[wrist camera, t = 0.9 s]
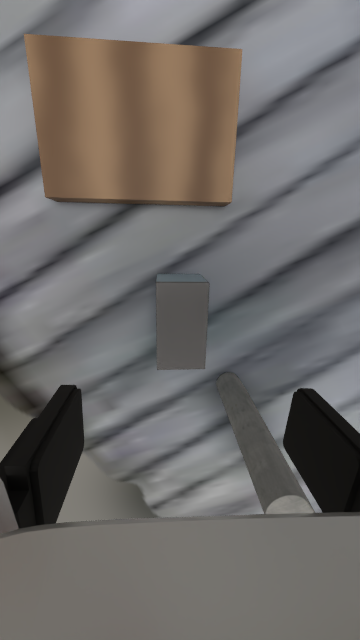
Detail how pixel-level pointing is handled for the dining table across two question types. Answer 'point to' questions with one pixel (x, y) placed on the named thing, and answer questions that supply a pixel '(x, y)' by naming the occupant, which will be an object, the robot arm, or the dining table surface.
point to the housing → (181, 321)
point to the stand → (134, 120)
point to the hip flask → (261, 452)
